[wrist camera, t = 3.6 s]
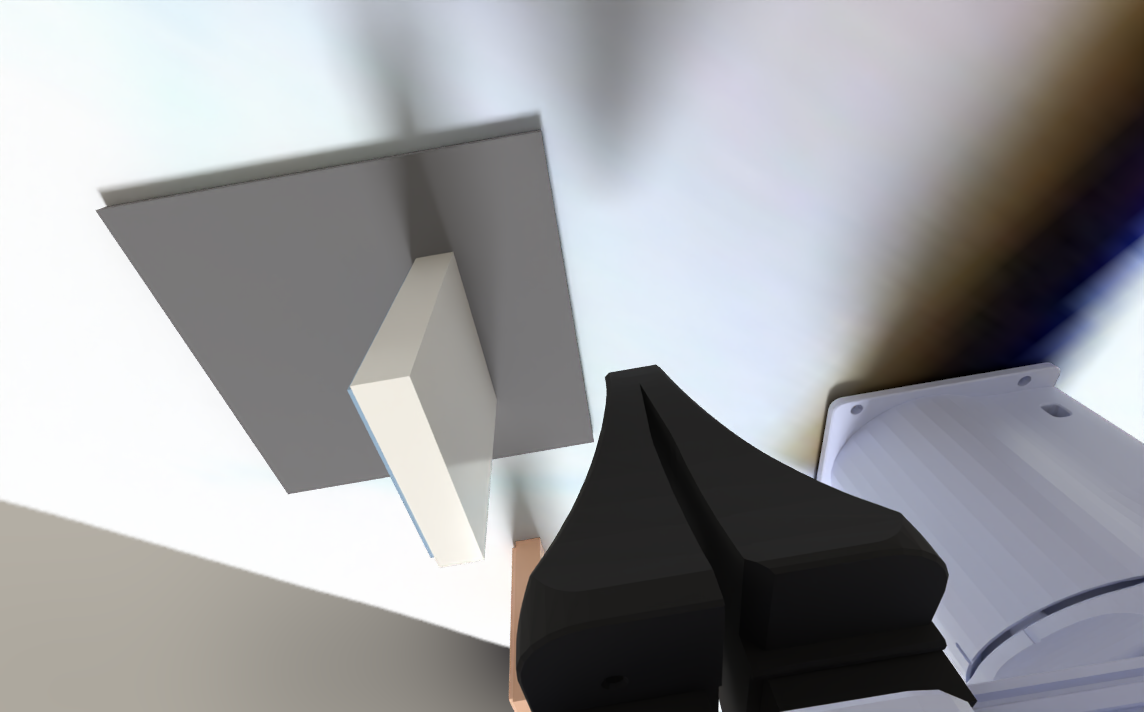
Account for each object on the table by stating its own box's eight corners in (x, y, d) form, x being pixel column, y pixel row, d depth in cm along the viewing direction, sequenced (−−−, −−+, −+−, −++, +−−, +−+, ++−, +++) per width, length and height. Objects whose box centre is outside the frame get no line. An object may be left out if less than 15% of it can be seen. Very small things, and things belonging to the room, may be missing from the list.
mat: (540, 129, 14) (541, 131, 14) (592, 435, 21) (593, 442, 20) (105, 206, 14) (95, 210, 14) (291, 486, 21) (288, 493, 20)
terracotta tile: (539, 537, 24) (544, 696, 18) (559, 605, 27) (569, 759, 21) (511, 541, 24) (507, 702, 18) (534, 609, 27) (537, 764, 21)
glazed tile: (453, 251, 16) (409, 376, 10) (497, 399, 19) (484, 560, 13) (409, 259, 16) (339, 387, 10) (460, 405, 19) (431, 569, 13)
